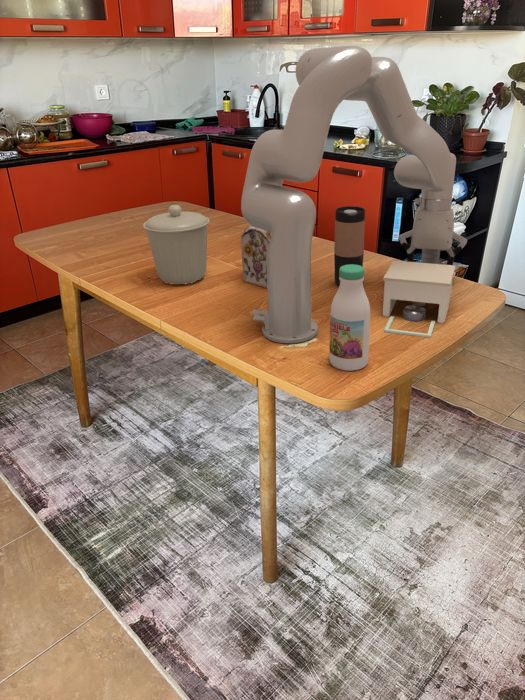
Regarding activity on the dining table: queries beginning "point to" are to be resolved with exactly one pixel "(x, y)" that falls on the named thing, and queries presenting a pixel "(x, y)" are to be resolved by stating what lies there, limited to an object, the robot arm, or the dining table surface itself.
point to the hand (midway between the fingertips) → (429, 268)
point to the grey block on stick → (428, 257)
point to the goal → (409, 331)
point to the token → (414, 313)
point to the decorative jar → (255, 255)
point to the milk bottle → (350, 321)
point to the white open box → (418, 285)
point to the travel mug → (348, 238)
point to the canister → (178, 245)
